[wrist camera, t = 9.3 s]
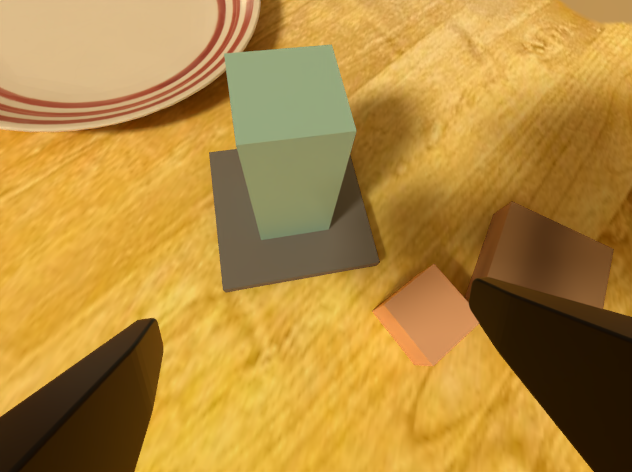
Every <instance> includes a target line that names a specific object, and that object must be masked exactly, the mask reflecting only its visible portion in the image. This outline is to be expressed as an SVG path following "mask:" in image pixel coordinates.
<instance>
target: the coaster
mask: <svg viewBox="0 0 632 472" xmlns="http://www.w3.org/2000/svg"><path fill="white" fill-rule="evenodd" d="M209 155H210V165H211V175H212V185H213V195H214V205H215V214H216V224H217V234H218V244H219V254H220V264H221V274H222V284H223V290H224V291H225V292H231V291H236V290H242V289H247V288H253V287H258V286H264V285H270V284H275V283H281V282H286V281H292V280H297V279H303V278H309V277H314V276H320V275H325V274H331V273H336V272H342V271H348V270H353V269H359V268H364V267H370V266H375V265H377V264H378V263H379V262H380V261H379V258H378V254H377V250H376V247H375V243H374V239H373V236H372V232H371V229H370V225H369V221H368V218H367V214H366V210H365V207H364V203H363V199H362V196H361V192H360V189H359V185H358V181H357V178H356V174H355V170H354V167H353V163H352V159H351V156H349V160H348V163H347V167H346V170H345V174H344V177H343V181H342V185H341V188H340V192H339V195H338V199H337V202H336V206H335V209H334V213H333V216H332V220H331V223H330V227H329V229H328V230H322V231H316V232H310V233H303V234H297V235H291V236H284V237H278V238H272V239H265V240H261V238H260V234H259V230H258V226H257V222H256V219H255V215H254V211H253V207H252V204H251V200H250V196H249V192H248V188H247V185H246V181H245V177H244V173H243V170H242V166H241V162H240V158H239V154H238V151H237V149H234V150H226V151H218V152H209Z"/></svg>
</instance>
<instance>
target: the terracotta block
mask: <svg viewBox="0 0 632 472" xmlns="http://www.w3.org/2000/svg"><path fill="white" fill-rule="evenodd" d="M372 312H373V313H374V314H375V316H376V317H377V318H378V319H379V321H380V322H381V323H382V324H383V326H384V327H385V328H386V330H387V331H388V332H389V333H390V335H391V336H392V337H393V338H394V340H395V341H396V342H397V343H398V345H399V346H400V347H401V349H402V350H403V351H404V352H405V354H406V355H407V356H408V357H409V359H410V360H411V361H412V362H413V364H414V365H423V366H434V365H435V364H436V363H437V362H438V361H439V360H441V359H442V358H443V357H444V356H445V355H446V354H447V353H448V352H449V351H450V350H451V349H452V348H453V347H454V346H456V345H457V344H458V343H459V342H460V341H461V340H462V339H463V338H464V337H465V336H466V335H467V334H468V333H469V332H471V331H472V330H473V329H474V328H475V327H476V326H477V325H478V324H479V322H478V321H477V319H476V318H475V316H474V315H473V313H472V312H471V310H470V307H469V303H468V302H467V300H466V299H465V298H464V297H463V296H462V295H461V294H460V292H459V291H458V290H457V289H456V288H455V287H454V286H453V285H452V283H451V282H450V281H449V280H448V279H447V278H446V277H445V276H444V274H443V273H442V272H441V271H440V270H439V269H438V268H437V266H436V265H435V264H433V265H431V266H430V267H428V268H427V269H425V270H424V271H422V272H421V273H419V274H418V275H416V276H415V277H414V278H413V279H411V280H410V281H409V282H408V283H406V284H405V285H404V286H403V287H401V288H400V289H399V290H398V291H397V292H395V293H394V294H393V295H392V296H390V297H389V298H388V299H387V300H385V301H384V302H383V303H382V304H381V305H379V306H378V307H377V308H376V309H374V310H373V311H372Z"/></svg>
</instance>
